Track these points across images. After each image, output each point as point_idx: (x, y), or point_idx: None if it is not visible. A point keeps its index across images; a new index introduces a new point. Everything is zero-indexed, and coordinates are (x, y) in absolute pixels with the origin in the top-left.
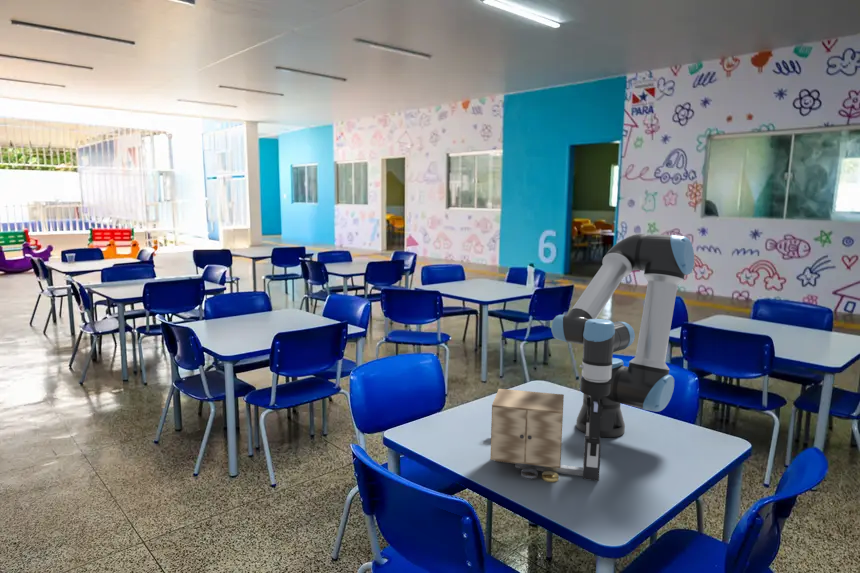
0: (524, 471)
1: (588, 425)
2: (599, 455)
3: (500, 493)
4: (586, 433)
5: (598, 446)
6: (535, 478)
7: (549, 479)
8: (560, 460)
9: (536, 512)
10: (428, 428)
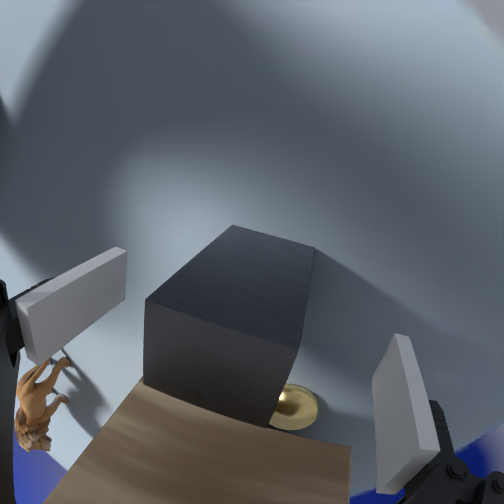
0: None
1: (45, 349)
2: (305, 308)
3: (360, 491)
4: (81, 329)
5: (435, 433)
6: None
7: (314, 417)
8: (349, 472)
9: (459, 449)
10: None
